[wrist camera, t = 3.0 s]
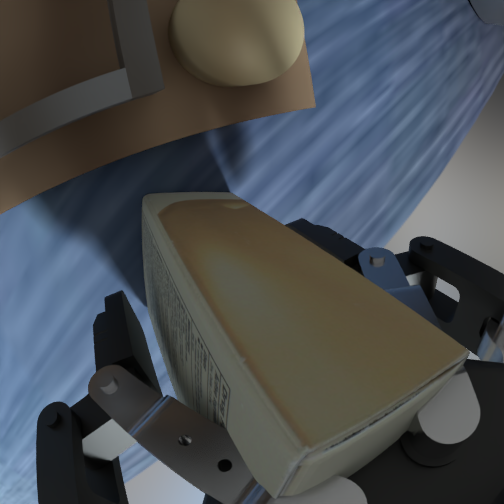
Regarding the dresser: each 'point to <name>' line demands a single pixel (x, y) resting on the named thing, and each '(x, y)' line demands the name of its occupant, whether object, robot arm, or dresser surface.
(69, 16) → the carrier plate
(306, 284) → the skincare box
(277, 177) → the dresser surface
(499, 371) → the robot arm
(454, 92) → the dresser surface
